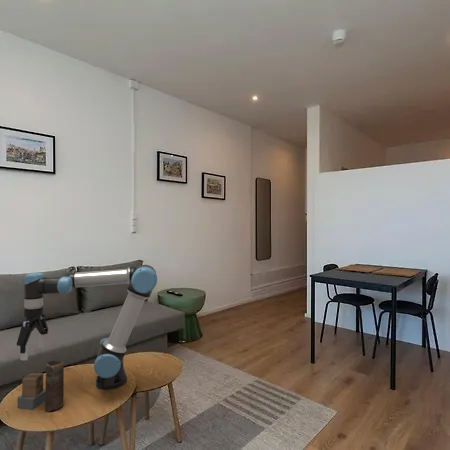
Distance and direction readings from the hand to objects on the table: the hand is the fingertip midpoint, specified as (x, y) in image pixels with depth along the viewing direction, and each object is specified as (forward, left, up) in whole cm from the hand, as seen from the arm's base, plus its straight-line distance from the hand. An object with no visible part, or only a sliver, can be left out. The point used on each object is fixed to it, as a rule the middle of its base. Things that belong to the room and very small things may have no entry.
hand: (33, 354), depth 147 cm
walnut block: (0, 0, -18) cm, 18 cm away
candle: (-11, +3, -23) cm, 26 cm away
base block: (0, 0, -23) cm, 23 cm away
